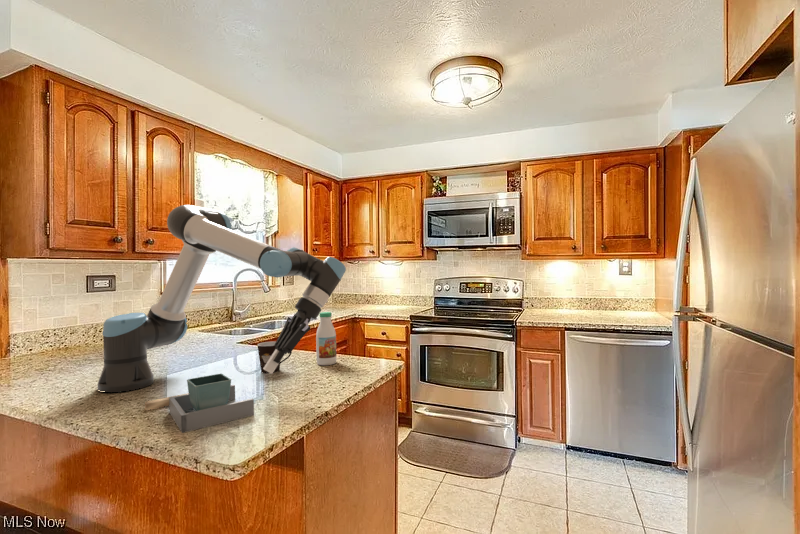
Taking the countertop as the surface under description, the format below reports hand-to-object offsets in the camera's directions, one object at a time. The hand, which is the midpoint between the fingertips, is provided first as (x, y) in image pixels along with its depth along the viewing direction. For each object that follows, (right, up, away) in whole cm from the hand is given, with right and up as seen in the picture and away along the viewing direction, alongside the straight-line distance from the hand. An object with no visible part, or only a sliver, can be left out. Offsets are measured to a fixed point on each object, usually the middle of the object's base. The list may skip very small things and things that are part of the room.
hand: (267, 371), depth 114 cm
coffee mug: (-8, -8, +30) cm, 32 cm away
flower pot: (-11, -8, -11) cm, 18 cm away
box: (-11, -8, -11) cm, 18 cm away
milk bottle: (+10, -8, +40) cm, 42 cm away
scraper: (-25, -9, -3) cm, 27 cm away
